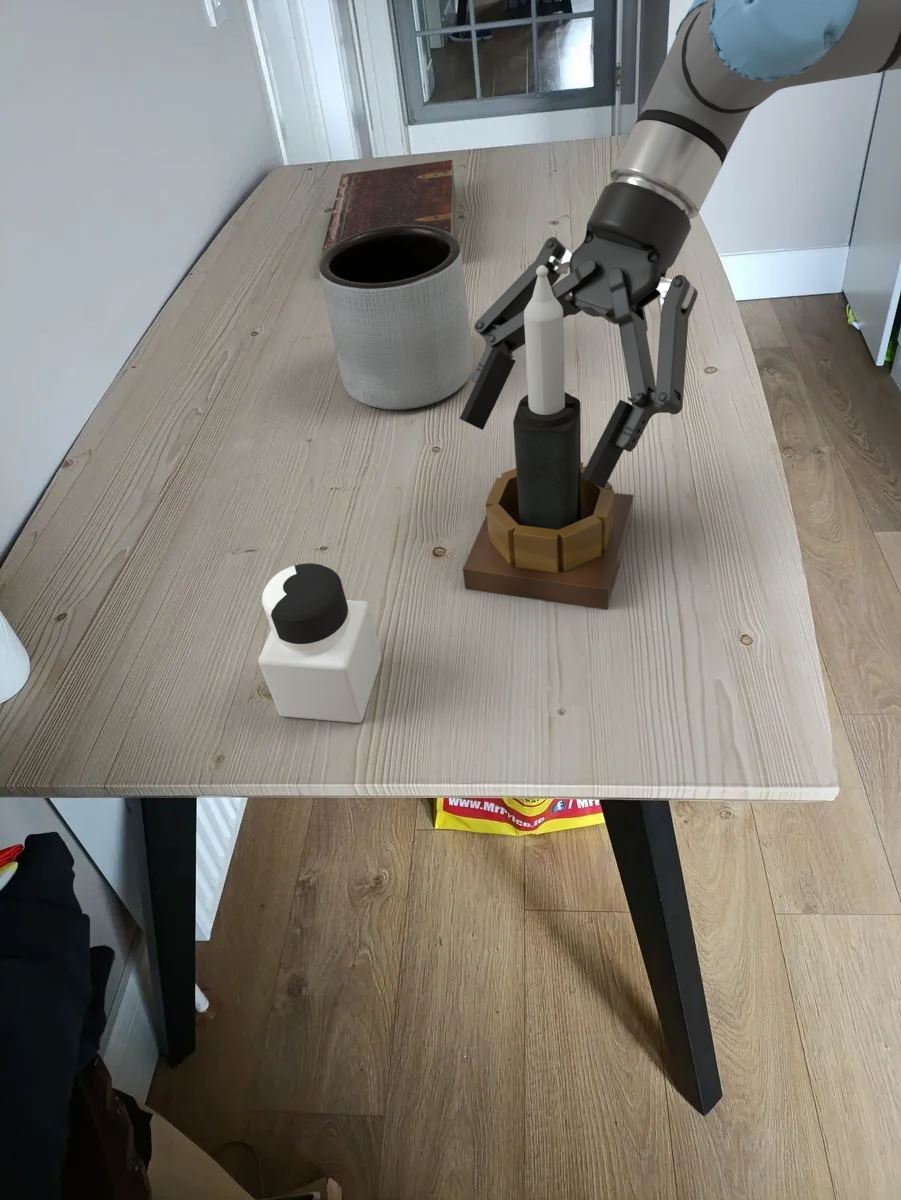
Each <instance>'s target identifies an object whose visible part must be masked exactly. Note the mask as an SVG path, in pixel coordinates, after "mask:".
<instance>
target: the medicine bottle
mask: <svg viewBox="0 0 901 1200" xmlns="http://www.w3.org/2000/svg"><path fill="white" fill-rule="evenodd" d="M261 604H262V607H263V609H264V613H265V615H266V618H267V621H268V623H269V626H270V628H271V630H270V631H269V634H268V636H267V638H266V641H265V643H264V645H263V648H262V650H261V652H260V655H259V657H258V660H257V661H258V662H257V663H258V664H259V667H260V670H261V672H262V675H263V677H264V680H265V682H266V685H267V687H268V690H269V692H270V695H271V697H272V700H273V702H274V705H275V707H276V711H277V712H278V715H279V716H280V717H283V718H296V719H305V720H306V719H308V720H317V721H329V722H339V723H340V722H342V723H352V724H353V723H354V724H355V723H356V724H360V723H362V722H363V720H364V717H365V714H366V711H367V707H368V704H369V701H370V698H371V695H372V691H373V688H374V685H375V681H376V678H377V675H378V672H379V669H380V665H381V662H382V653H381V649H380V646H379V645H380V644H379V641H378V637H377V633H376V629H375V625H374V620H373V616H372V612H371V609H370V608H371V607H370V605H369V603H368V601H366V600H352V599H347V598H346V594H345V591H344V587H343V584H342V580H341V578H340V576H339V574H338V573H337V572H336V571H335V570H334V569H332V568H331V567H328V566H326V565H323V564H319V563H313V562H312V563H310V562H308V563H299V564H294V565H292V566H289V567H286V568H284V569H282V570H280V571H279V572H278V573H276V574H275V575H274V576H273V577H272V578H271V579H270V580H269V581H268V582H267V584H266V585H265V587H264V589H263V591H262V594H261Z"/></svg>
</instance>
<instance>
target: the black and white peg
mask: <svg viewBox="0 0 901 1200" xmlns="http://www.w3.org/2000/svg"><path fill="white" fill-rule="evenodd" d="M547 273H548V269H547V268H546V267H545V266H543V265H541V266H539V267H538V268H537V270H536V274H537V275H538V277H537V281H536V285H535V289H534V292H533V296H532V299H531V300H530V302H529V303H528V305H527V306H526V308H525V310H524V325H525V344H524V345H525V361H526V363H525V365H526V379H527V381H526V382H527V383H526V384H527V394H526V395H524V396H523V397H522V398H521V399H520V400H519V402H518V405H517V408H516V412H515V415H514V418H513V420H512V421H513V422H512V428H513V442H514V456H515V457H514V459H515V468H516V473H517V488H518V502H519V517H520V525H523V526H531V527H539V528H547V529H555V530H559V529H561V528H564V527H566V526H568V525H571V524H573V523H575V522H578V521H580V520H581V462H582V458H581V457H582V456H581V455H582V454H581V453H582V449H581V447H582V446H581V440H582V439H581V438H582V437H581V436H582V435H581V434H582V432H581V431H582V429H581V426H582V425H581V423H582V422H581V419H582V418H581V415H582V414H581V410H582V409H581V406H582V405H581V401H580V399H579V398H577V397H576V396H573V395H571V394H570V393H568V392H566V389H565V385H566V384H565V337H564V332H565V331H564V318H563V308H562V306H561V304H560V303H559V302H558V300H557V299H556V298H555V297H554V295H553V292H552V289H551V287H550V284H549V281H548V278H547Z"/></svg>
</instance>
